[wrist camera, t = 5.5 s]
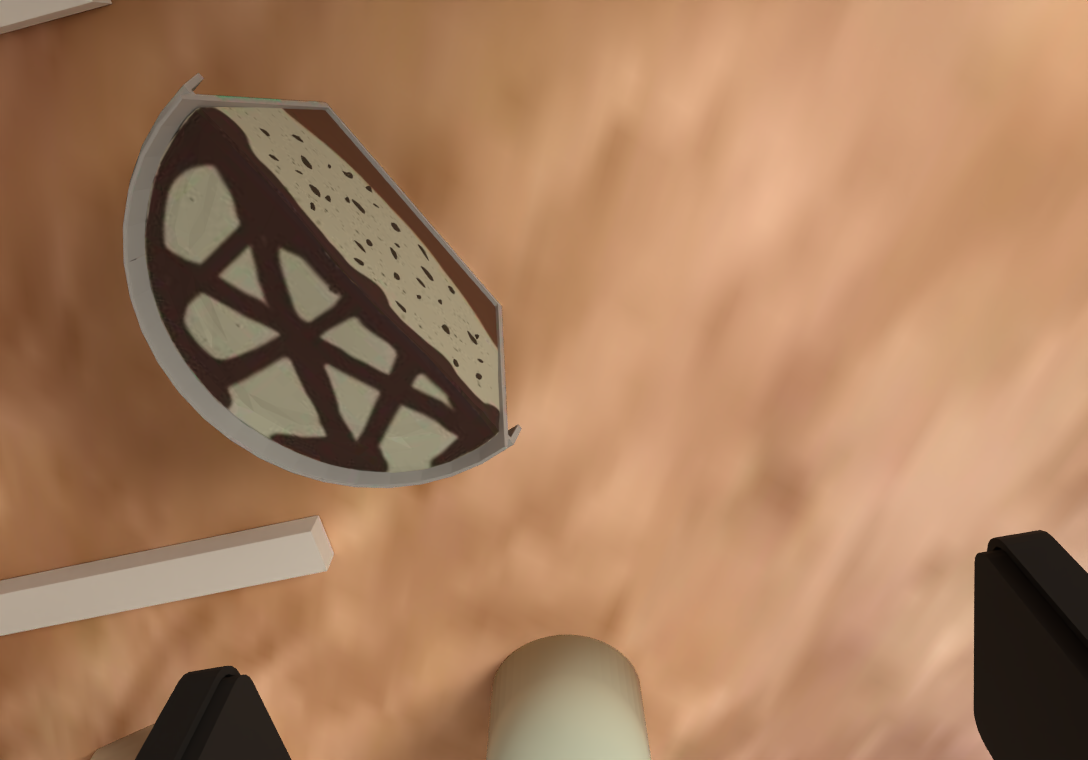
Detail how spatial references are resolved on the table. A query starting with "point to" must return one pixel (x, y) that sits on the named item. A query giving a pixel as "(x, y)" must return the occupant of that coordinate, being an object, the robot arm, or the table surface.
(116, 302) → the table surface
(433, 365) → the food container
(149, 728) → the birch block
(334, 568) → the table surface
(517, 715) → the pale green cylinder
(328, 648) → the table surface
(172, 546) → the corral
